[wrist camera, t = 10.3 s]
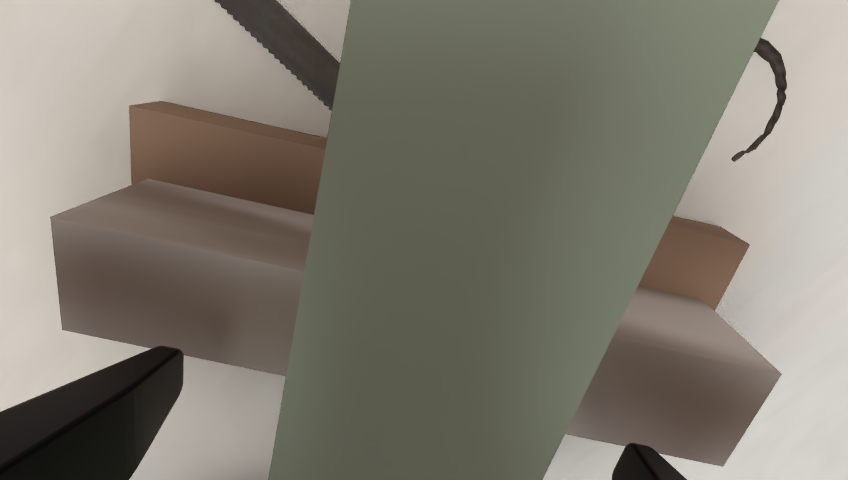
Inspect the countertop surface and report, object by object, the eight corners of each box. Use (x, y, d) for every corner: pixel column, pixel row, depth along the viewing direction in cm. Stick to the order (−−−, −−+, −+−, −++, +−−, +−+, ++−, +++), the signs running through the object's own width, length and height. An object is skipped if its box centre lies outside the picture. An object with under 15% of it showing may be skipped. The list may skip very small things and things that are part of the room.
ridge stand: (636, 396, 17) (707, 522, 12) (162, 296, 16) (49, 389, 12) (720, 227, 14) (850, 305, 10) (161, 101, 14) (16, 121, 9)
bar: (406, 596, 14) (391, 785, 10) (281, 568, 14) (220, 752, 10) (657, -53, 8) (858, -162, 4) (426, -121, 7) (404, -307, 4)
